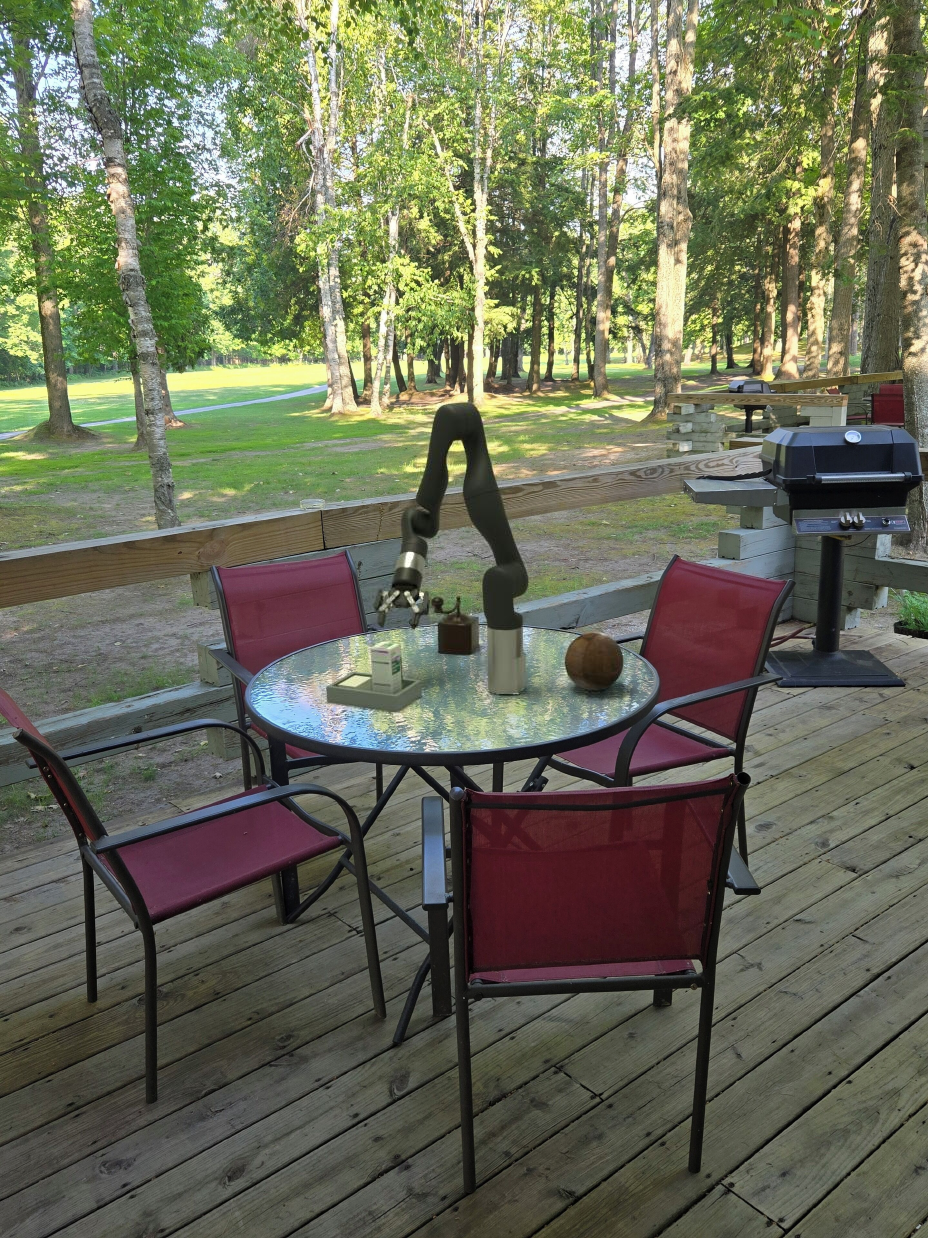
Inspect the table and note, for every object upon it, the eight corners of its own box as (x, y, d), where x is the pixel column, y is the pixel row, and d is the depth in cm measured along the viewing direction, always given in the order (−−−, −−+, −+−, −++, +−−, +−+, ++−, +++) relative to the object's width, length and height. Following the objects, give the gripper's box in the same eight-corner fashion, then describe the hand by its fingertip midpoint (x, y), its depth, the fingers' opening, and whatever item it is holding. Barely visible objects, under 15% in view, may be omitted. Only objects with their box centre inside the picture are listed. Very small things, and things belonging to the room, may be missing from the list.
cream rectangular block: (372, 692, 232) (371, 677, 231) (356, 702, 225) (355, 686, 224) (355, 690, 234) (355, 675, 233) (339, 699, 227) (338, 684, 226)
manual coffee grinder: (445, 643, 279) (444, 586, 274) (480, 645, 276) (479, 588, 271) (429, 658, 264) (428, 598, 260) (466, 660, 261) (465, 599, 257)
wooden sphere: (631, 685, 237) (633, 630, 233) (607, 702, 225) (609, 644, 221) (580, 676, 245) (581, 623, 241) (554, 692, 233) (554, 636, 229)
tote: (422, 699, 229) (421, 680, 228) (397, 716, 218) (396, 696, 217) (354, 689, 238) (353, 671, 236) (327, 705, 226) (326, 686, 225)
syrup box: (393, 705, 222) (390, 649, 219) (372, 702, 225) (369, 646, 221) (404, 698, 227) (402, 642, 224) (383, 695, 230) (381, 640, 226)
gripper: (379, 564, 236) (366, 618, 228) (431, 566, 232) (420, 620, 224) (386, 580, 242) (374, 633, 234) (438, 582, 238) (427, 635, 231)
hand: (396, 626), depth 229 cm, fingers open, 8 cm apart
